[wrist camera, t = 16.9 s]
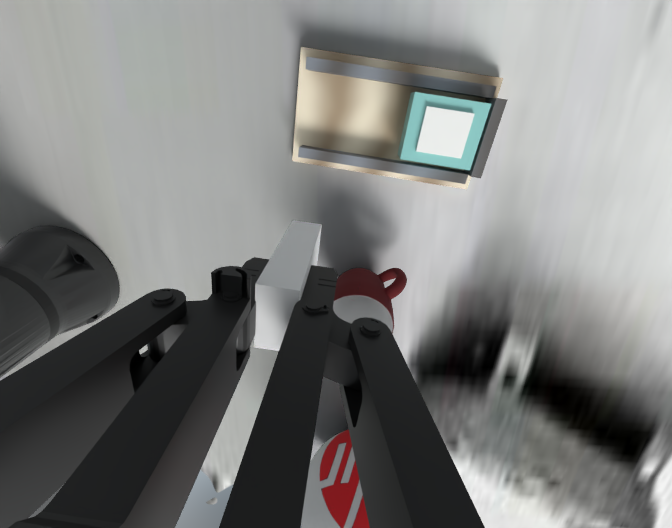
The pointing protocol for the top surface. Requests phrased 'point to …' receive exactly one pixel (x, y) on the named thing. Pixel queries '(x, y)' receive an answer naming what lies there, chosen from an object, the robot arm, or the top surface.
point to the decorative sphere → (334, 488)
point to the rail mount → (380, 114)
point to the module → (442, 130)
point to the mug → (367, 295)
